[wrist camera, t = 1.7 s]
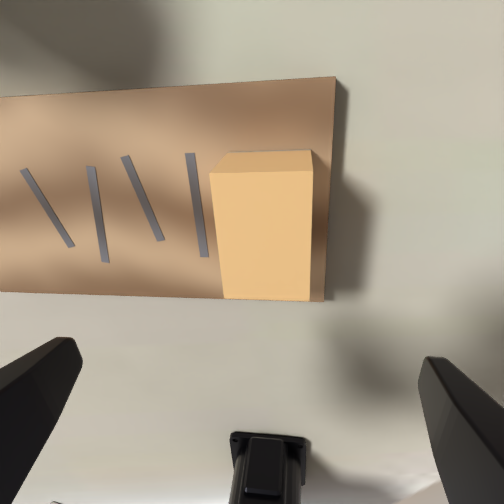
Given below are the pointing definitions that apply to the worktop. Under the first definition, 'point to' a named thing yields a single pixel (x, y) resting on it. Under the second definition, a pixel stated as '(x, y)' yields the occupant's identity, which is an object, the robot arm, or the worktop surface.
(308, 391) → the worktop surface
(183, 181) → the board
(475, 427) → the robot arm
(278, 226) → the block
